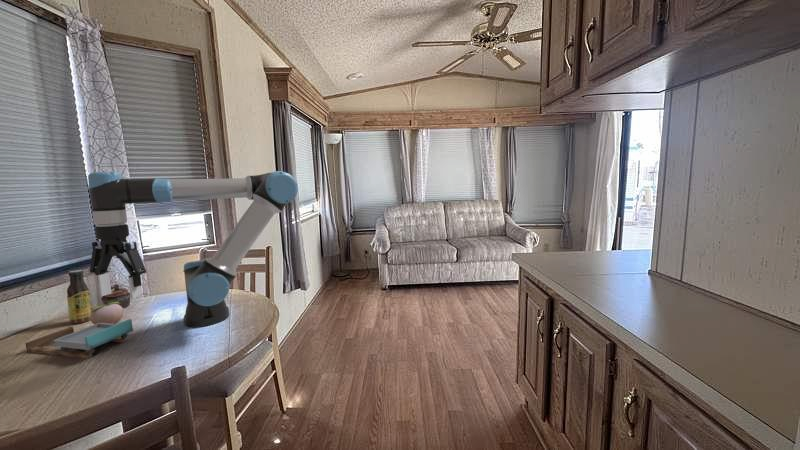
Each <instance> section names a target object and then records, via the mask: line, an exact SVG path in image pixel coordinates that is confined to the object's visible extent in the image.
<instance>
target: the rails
mask: <svg viewBox="0 0 800 450" xmlns="http://www.w3.org/2000/svg"><path fill="white" fill-rule="evenodd" d="M74 330H75V329H74V327H73V326H69V327H65V328H63V329H60V330H58V331H55V332H51V333H50V334H47V335H43V336H41V337H38V338H35V339H33V340H29V341H27V342H25V348H26V352H27V353H36V354H37V353H38V354H47V355H54V356H64V357H69V358H70V357H71V358H77V359H78V358H80V359H90V358H91V357H93V353H91V354H87V353H86V351H78V350H77V351H76V350H75V351H74V350H69V349H68V350H66V351H62V350H61V348H59V349H57V348H52V347H50V348H49V347H47V346H49V345H53V340H55V339H58V338H60V337H63V336H65V335H68V334H71V333H73V332H75V331H74ZM126 341H127V337H126V338H124V339H122V338H121V337H117V338H115V339H113V340H111V341H108V342H111V343H118V344H119V343H121V344H122V343H124V342H126Z"/></svg>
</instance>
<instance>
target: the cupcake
mask: <svg viewBox="0 0 800 450" xmlns="http://www.w3.org/2000/svg"><path fill="white" fill-rule="evenodd" d="M111 292H112V293H111V294H108V295H105V296H101V298H100V299H101V300H100V301H101V302H102V305H106V303H105V302H107V304H108V303H111V302H119V303H121V304H118V303H117V304H118V305H120V306H121V307H122V308H124V309H126V308H128V307H130V306H131V305H130V303H131V294H130V291H129V290H128V289H126V288H125V286H124V285H120V284H118V283H116V284H114V285H112V286H111Z"/></svg>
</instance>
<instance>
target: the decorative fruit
mask: <svg viewBox="0 0 800 450" xmlns="http://www.w3.org/2000/svg"><path fill="white" fill-rule="evenodd" d="M105 303H106V305H104V304H102V305H101V304H100V305H98V306H96V307H94V308H92V309H91V312H92V313H91V312H90V313H91V315H90V320H89V321H90V322H91V323H92V324H93V325H94V324H97V323H110V324H118V323H120V321H121V320H122V318H123V317H124V309H123V308H122V307H121V306H120V305H118V304H121V303H119V302H111V303H108V304H107V302H105ZM117 303H118V304H117Z"/></svg>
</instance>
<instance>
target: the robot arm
mask: <svg viewBox="0 0 800 450" xmlns="http://www.w3.org/2000/svg"><path fill="white" fill-rule="evenodd" d="M87 177H88V193H89V197H90V204H91V205H90V206H91V211H92V212H91V213H92V219H93V220H92V221H93V225H95V227H94V232H95V233H94V234H95V238H96V239H97V240H99V241H93V242H92V243H91V248H92V252H91V260H90V266H89V272H90V274H91V273H92V274H93V273H94V275H95V276H96V280H97V284H98V289H99V295H100V297H102V296H105V295H108V294H111V293H112V292H111V287H112V285H111V279H110V273H109V272H110V271H108V268H109V267H110V264H111V261H112V258H113V257H116V259H119V261H120V262H121V263H122V265H123V266H124V268H125V269H126V271H127V272H128V274H129V276H128V277H127V278H128V284H129V293H130V294H131V296H130V299H135V298H139V297H141V296H142V295H143V294H142V293H143V292H142V279H141V275H142V274H145V273H147V270H146V269H147V268H146V267H145V264H144V262H143V259H142V258H141V255H140V253H139V250H138V245H137V242H136V241H130V242H129V241H128V240H127V237H129V236H130V231H129V225H128V224H127V223H128V218H127V217H128V216H127V208H126V205H128V204H129V205H132V204H161V203H170V202H172V201H193V200H197V201H198V200H216V199H242V198H247V199H248V200H249V201H252V202H251V204H250V206H249V207H248V208H247V209H246V211H244V213H243V214H242V216H241V217H240V219H239V220H238V222H237V223H236V225H235V226H234V227H233V228H232V230H231V231H230V233H229V234H228V235H227V237H226V238H225V240H223V242H222V243H221V245H220V246H219V247H218V249H217V250H216V252H215V253H214V254H213V256H210V257H205V258H204V259H201V260H195V261H194V260H193V261H189V262H186V263H184V265H183V273H184V282H185V283H184V284H185V290H186V299H187V301H186V302H187V305H186V308H185V312H184V313H185V314H184V315H183V323H184V325H185V326H187V327H189V328H190V327H191V328H198V327H206V326H211V325H214V324H218V323H220V322H222V321H224V320H226V319H228V318H229V316H230V309H229V307H228V306H227V303H226V301H225V299H226V297H227V296H228V294H229V291H230V288H231V287H230V286H231V284H232V283H233V281H234V280H235V278H236V277H237V268H238V266H239V265H240V263H241V262H242V261H243V259H244V258H245V256H246V255H247V253H248V252H249V251H250V249H251V248H252V246H253V245H254V244H255V242H256V241H257V240H258V238H259V236H260V235H261V233H262V232H263V231H264V229H265V228H266V226H267V225H268V224H269V223H270V221H271V219H272V218H273V217H274V215H275V214H279V213H281V212H282V211H283V210H284V209H285V207H286V206H287V204H289V203H291V202H292V201H294V200H295V198H296V197H297V196H298V195H297V194H298V191H299V186H298V181H297V180H296V179H295V178H294V176H293V175H292V174H290V173H288V172H286V171H281V170H275V171H273V172H266V173H262V174H257V175H256V174H255V175H246V176H245V177H243V178H235V177H233V178H179V179H177V178H176V179H175V178H171V179H169V178H159V177H157V178H123V175H122V174H121V173H120V172H119V171H117V172H116V171H93V172H90V173H89V174H88V176H87Z"/></svg>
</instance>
